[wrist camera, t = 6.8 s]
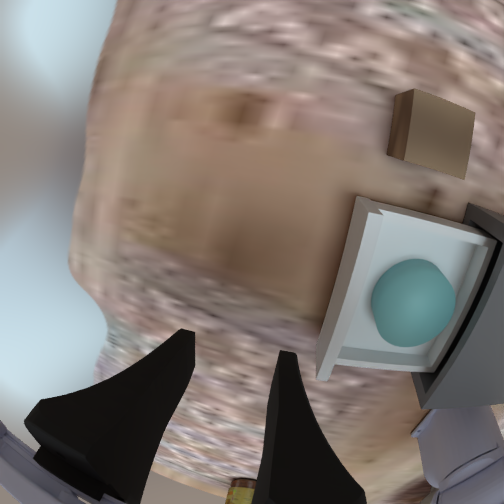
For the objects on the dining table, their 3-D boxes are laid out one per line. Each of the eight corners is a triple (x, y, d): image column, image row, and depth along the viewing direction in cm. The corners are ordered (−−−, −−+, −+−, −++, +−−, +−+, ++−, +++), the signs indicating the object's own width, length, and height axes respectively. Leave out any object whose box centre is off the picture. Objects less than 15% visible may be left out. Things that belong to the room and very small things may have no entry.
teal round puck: (371, 335, 19) (375, 353, 18) (368, 266, 18) (374, 281, 16) (441, 321, 18) (450, 338, 16) (446, 252, 16) (458, 265, 14)
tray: (427, 357, 20) (438, 388, 17) (316, 344, 21) (315, 379, 18) (483, 228, 15) (511, 249, 12) (356, 195, 17) (368, 212, 13)
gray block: (489, 361, 21) (510, 402, 15) (406, 358, 22) (421, 409, 17) (549, 234, 15) (589, 263, 10) (468, 202, 16) (514, 230, 11)
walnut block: (440, 170, 16) (464, 179, 13) (386, 154, 16) (403, 160, 13) (449, 113, 14) (475, 112, 11) (395, 95, 15) (414, 88, 11)
